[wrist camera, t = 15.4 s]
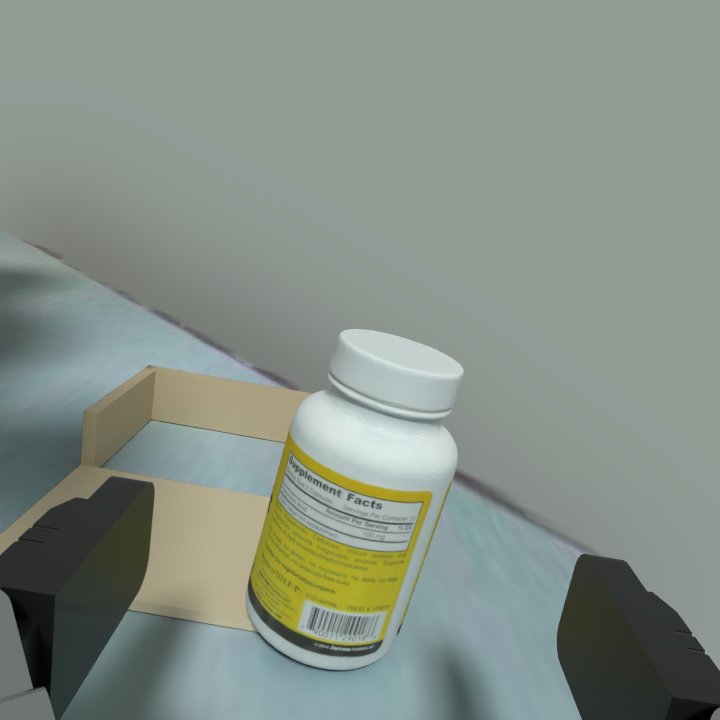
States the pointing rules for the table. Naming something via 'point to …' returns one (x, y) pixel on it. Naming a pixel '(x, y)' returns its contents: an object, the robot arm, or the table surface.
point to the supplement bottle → (355, 502)
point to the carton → (182, 490)
